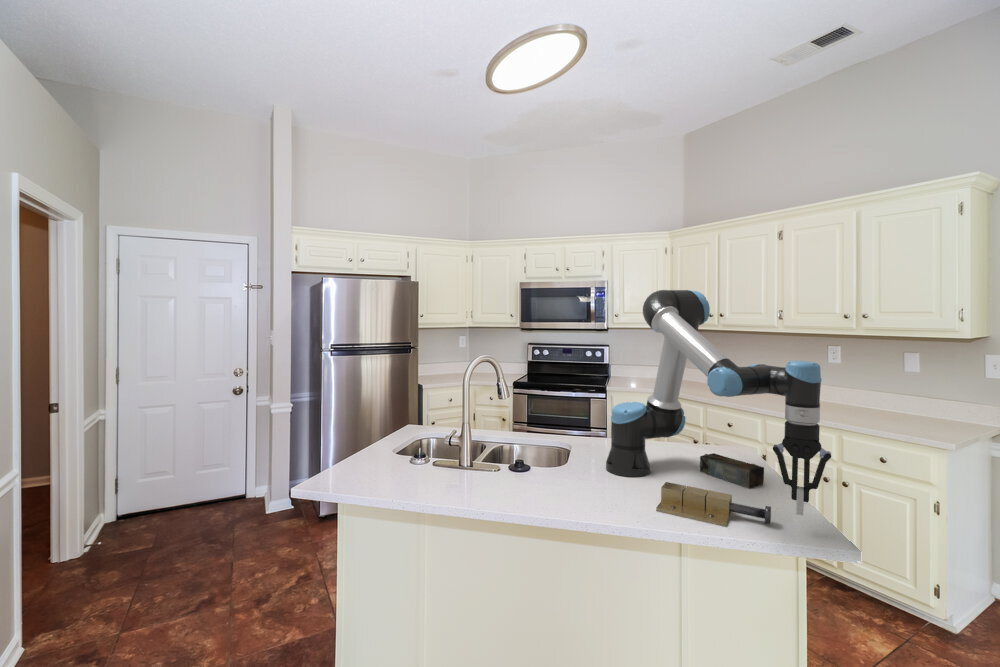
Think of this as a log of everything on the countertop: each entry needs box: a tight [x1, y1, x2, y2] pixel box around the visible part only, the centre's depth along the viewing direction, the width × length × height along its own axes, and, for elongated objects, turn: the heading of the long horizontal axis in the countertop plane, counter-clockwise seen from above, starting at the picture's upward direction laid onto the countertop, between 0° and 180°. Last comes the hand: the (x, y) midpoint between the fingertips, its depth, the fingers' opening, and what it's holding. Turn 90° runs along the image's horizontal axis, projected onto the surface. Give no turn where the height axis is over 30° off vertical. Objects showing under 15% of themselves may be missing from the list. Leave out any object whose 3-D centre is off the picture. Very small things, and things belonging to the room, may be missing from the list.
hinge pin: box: [729, 502, 772, 525], centre depth 133 cm, size 19×4×4 cm, turn 57°
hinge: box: [655, 481, 733, 527], centre depth 138 cm, size 18×15×5 cm
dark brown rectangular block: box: [699, 452, 765, 489], centre depth 163 cm, size 8×19×7 cm, turn 30°
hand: (799, 513), depth 124 cm, fingers closed
